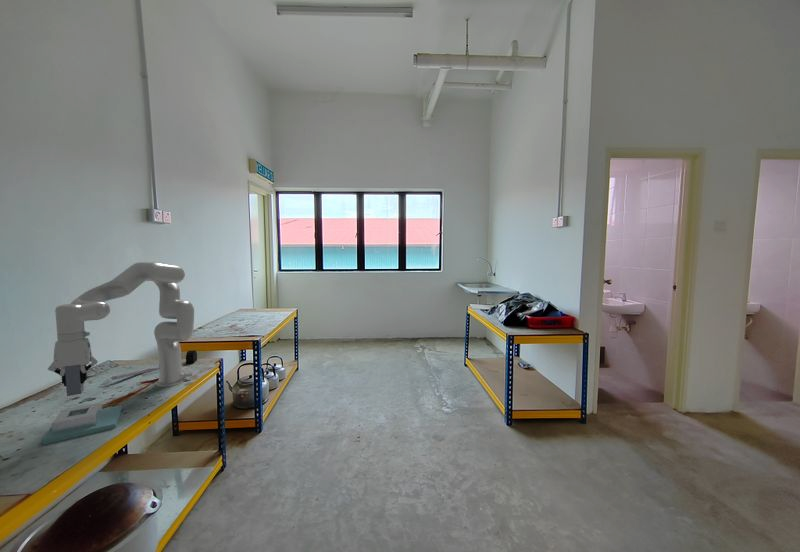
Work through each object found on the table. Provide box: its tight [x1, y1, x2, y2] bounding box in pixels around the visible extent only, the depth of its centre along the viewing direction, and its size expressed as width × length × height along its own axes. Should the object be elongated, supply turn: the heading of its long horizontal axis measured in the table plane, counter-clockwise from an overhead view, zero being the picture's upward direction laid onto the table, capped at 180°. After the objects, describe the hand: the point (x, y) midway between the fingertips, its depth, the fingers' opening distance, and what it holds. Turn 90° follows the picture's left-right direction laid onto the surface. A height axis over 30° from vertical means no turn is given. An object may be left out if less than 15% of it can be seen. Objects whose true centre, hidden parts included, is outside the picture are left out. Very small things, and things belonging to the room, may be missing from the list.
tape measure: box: [185, 349, 198, 365], centre depth 205 cm, size 15×4×8 cm, turn 15°
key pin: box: [65, 364, 85, 397], centre depth 130 cm, size 4×4×12 cm
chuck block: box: [41, 402, 124, 446], centre depth 133 cm, size 20×18×6 cm
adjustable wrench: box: [111, 365, 159, 381], centre depth 182 cm, size 25×6×2 cm, turn 160°
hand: (74, 383), depth 130 cm, fingers closed on key pin, 4 cm apart
